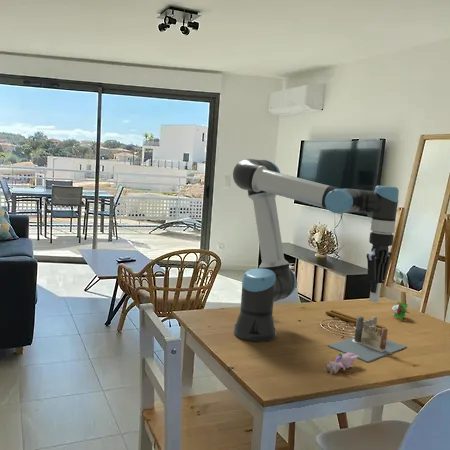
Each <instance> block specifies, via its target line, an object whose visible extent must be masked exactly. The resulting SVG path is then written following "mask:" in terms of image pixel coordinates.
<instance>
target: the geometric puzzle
mask: <svg viewBox="0 0 450 450" xmlns="http://www.w3.org/2000/svg"><path fill="white" fill-rule="evenodd" d="M408 305H409V304H408V303H404V302H399V301H397V304H394V305H393V306H392V307H391V310H392V311H393V312H394V315H393V317H394V318H397V319H401V320H404V319H405V318H407V317H405V316H407V315H409V311H408ZM406 313H407V314H406Z"/></svg>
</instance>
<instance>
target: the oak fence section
mask: <svg viewBox="0 0 450 450" xmlns="http://www.w3.org/2000/svg"><path fill="white" fill-rule="evenodd" d="M368 331H369V325H368V324H365V326H364V330H363V331H362V335H361V342H364V343H367V344H370V345H373V346H376V347H378V348H381V349H385V348H386V340H388V339H387V338H388V328H387V327H385V328H382V329H380V328H378V329H377V331H376V332H375V327H374V326H371V331H370V332H368Z"/></svg>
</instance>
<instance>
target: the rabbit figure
mask: <svg viewBox="0 0 450 450" xmlns="http://www.w3.org/2000/svg"><path fill="white" fill-rule="evenodd" d="M358 357H359V356H358V355H355V354H353V353H344V354H343V353H342V352H339V353H338V354H337V356H336V358H335V360H334V361H330V360H329V361H328V364H327V365H325V366H324V367H323V369H322V371H323V372H327V371H328V372H329V374H330V375H333V374H334V375H335V374H337V373H338V371H339V369H343V370H344V371H346V369H349V368H351V367H352V364H353V363H354V362H355V361H356V360H357V359H358ZM326 370H327V371H326Z"/></svg>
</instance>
